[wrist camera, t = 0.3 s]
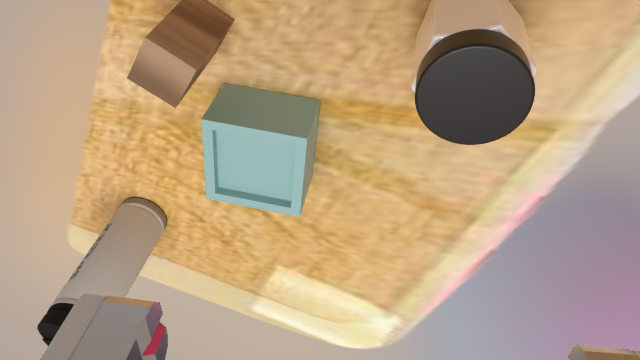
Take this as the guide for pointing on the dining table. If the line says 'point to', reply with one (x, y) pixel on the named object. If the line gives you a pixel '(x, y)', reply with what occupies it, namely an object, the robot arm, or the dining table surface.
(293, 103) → the teal box
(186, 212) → the dining table surface
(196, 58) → the walnut block
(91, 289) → the travel mug
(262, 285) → the dining table surface
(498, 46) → the jar
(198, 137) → the dining table surface
